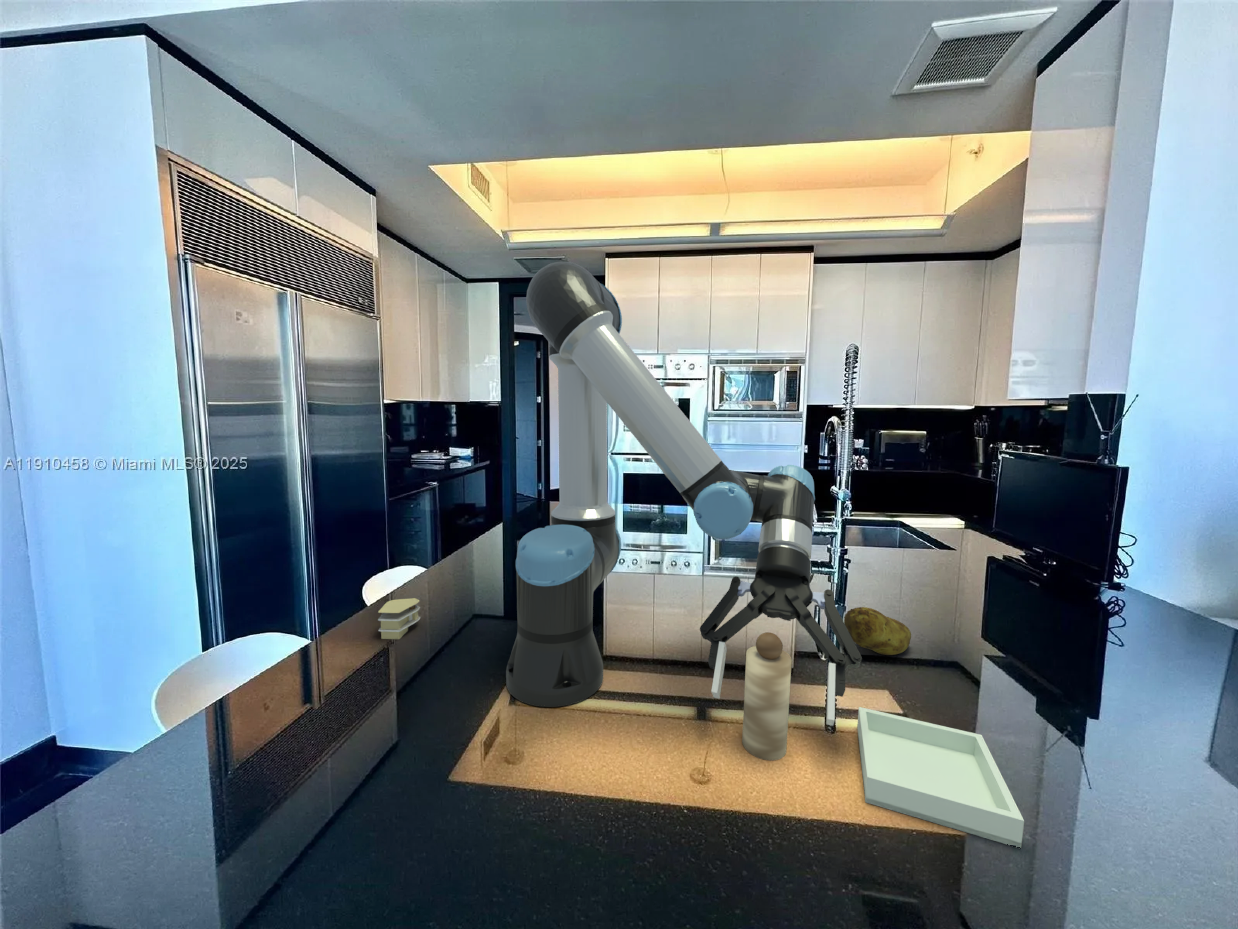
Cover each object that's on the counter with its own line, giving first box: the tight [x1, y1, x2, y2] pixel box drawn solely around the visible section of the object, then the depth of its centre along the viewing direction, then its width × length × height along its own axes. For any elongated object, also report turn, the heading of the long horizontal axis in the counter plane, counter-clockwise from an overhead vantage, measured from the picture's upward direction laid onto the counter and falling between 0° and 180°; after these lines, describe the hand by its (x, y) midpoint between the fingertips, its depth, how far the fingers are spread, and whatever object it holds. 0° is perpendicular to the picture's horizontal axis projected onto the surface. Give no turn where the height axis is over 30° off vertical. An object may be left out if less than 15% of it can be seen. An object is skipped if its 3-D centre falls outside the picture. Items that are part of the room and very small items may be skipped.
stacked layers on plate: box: [377, 597, 421, 640], centre depth 90 cm, size 10×9×6 cm
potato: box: [843, 606, 912, 656], centre depth 85 cm, size 8×13×8 cm, turn 88°
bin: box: [856, 706, 1025, 849], centre depth 55 cm, size 14×14×3 cm
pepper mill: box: [741, 631, 792, 761], centre depth 60 cm, size 5×5×15 cm
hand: (770, 708), depth 59 cm, fingers open, 13 cm apart
